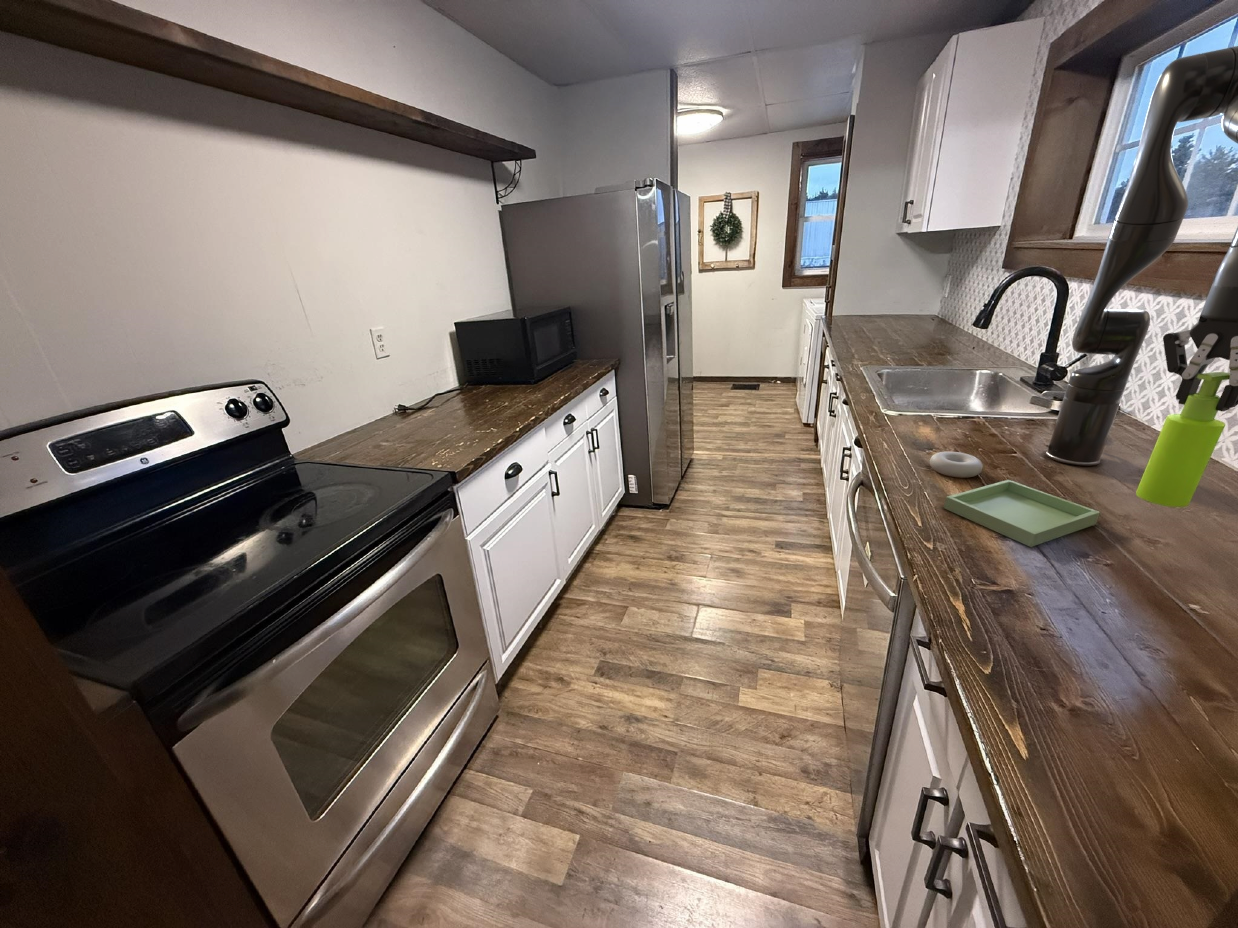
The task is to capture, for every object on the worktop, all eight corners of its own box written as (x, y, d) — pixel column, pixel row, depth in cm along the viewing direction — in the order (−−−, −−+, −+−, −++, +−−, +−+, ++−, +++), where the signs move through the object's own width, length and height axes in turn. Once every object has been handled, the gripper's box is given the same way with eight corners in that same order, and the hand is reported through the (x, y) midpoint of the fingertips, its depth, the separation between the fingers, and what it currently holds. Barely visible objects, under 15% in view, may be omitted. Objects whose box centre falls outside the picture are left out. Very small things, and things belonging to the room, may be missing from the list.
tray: (1005, 490, 102) (1008, 479, 101) (1096, 524, 88) (1100, 511, 87) (943, 508, 96) (946, 496, 95) (1030, 547, 83) (1034, 534, 82)
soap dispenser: (1207, 506, 76) (1268, 377, 68) (1160, 507, 76) (1216, 379, 68) (1168, 489, 81) (1221, 368, 73) (1125, 491, 81) (1173, 370, 74)
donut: (937, 479, 108) (989, 480, 106) (940, 465, 107) (993, 466, 105) (921, 462, 117) (969, 463, 115) (924, 448, 116) (972, 449, 114)
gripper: (1355, 282, 61) (1289, 415, 68) (1198, 279, 74) (1155, 393, 80) (1326, 286, 59) (1260, 423, 66) (1169, 283, 71) (1127, 399, 78)
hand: (1202, 406), depth 73 cm, fingers closed on soap dispenser, 3 cm apart
